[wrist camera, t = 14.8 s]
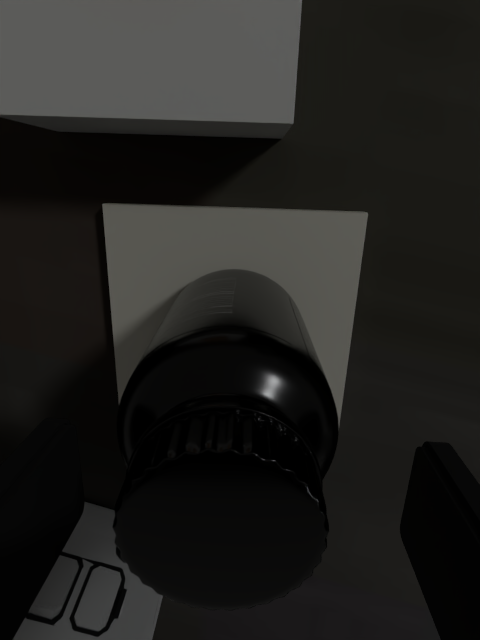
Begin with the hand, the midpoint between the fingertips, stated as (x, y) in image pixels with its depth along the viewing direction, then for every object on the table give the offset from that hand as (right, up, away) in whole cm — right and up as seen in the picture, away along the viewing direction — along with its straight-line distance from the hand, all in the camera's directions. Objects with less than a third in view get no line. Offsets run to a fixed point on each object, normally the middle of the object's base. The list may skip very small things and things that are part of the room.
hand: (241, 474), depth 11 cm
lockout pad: (0, +4, +10) cm, 10 cm away
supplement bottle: (0, +4, +9) cm, 10 cm away
